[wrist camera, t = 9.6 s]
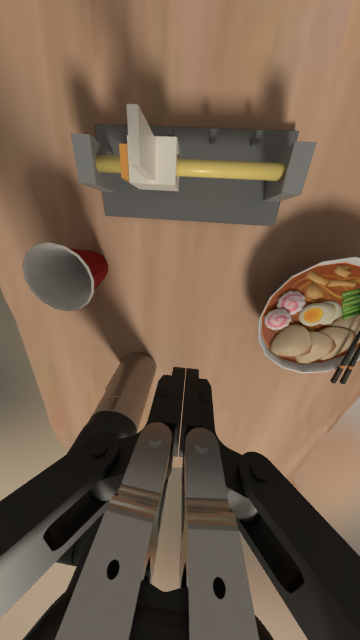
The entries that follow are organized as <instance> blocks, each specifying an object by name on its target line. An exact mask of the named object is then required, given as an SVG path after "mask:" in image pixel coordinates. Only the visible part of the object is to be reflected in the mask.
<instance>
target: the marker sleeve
mask: <svg viewBox="0 0 360 640" xmlns="http://www.w3.org/2000/svg"><path fill="white" fill-rule="evenodd" d="M127 122H128V135H127V147H128V164H129V182H130V183H131V184H132V185H134V186H135V187H137V188H139V189H143V190H162V191H179V176H176V173H177V159H180V154H181V151H180V147H179V143H178V139H177V137H165V136H154V135H153V133H152V131H151V129H150V127H149V125H148V123H147V121H146V119H145V117H144V115H143V113H142V111H141V109H140V107H139V105H138V104H127Z"/></svg>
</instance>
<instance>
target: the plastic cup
mask: <svg viewBox="0 0 360 640" xmlns="http://www.w3.org/2000/svg"><path fill="white" fill-rule="evenodd" d="M22 266H23V272H24V278H25V280H26V282H27V284H28V285H29V287H30V289H31V291H32V292H33V293H34V294H35V295H36V296H37V297H38V298H39V299H40V300H41V301H42V302H44V303H46V304H48V305H49V306H51V307H53V308H55V309H59V310H64V311H73V310H79V309H81V308H82V307H84V306H85V305H87V304H88V303H89V302H90V300H91V298H92V296H93V294H94V290H95V289H96V287H97V286H98V285H99V284H100V283H101V281H102V280H103V279H104V278H105V276H106V274H107V272H108V265H107V262H106V260H105V259H104V257H103V256H102V255H100V254H99V253H97V252H93V251H86V250H80V249H70V248H67V247H66V246H63V245H59V244H54V243H50V242H47V243H42V244H37V245H34V246H33V247H32V248H31V249H30V250H29V251H28V252H27V253H26V255H25V258H24V261H23V265H22Z"/></svg>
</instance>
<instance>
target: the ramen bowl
mask: <svg viewBox="0 0 360 640" xmlns="http://www.w3.org/2000/svg"><path fill="white" fill-rule="evenodd" d="M258 341H259V343H260V345H261V347H262V349H263V351H264V353H265V355H266V357H267V358H269V359H270V360H272V361H273V362H274V363H276V364H277V365H279V366H280V367H281V368H284V369H288V370H292V371H296V372H300V373H316V372H328V371H331V370H335V369H337V370H336V372H335V374H334V375H333V377H332V379H331V380H330V381H331V382H332V383H336V381H337V380H338V378H339V376H340V374H341V372H342V370H343V368H344V367H345V366H348V367H347V369H346V370H345V372H344V374H343V376H342V378H341V380H340V383H341V384H345V383H346V381H347V379H348V377H349V375H350V373H351V371H352V368H353V367H354V365H355V363H356V362H357V361H358V360H360V257H356V256H355V257H348V258H341V259H334V260H327V261H322V262H320V263H318V264H316V265H314V266H311V267H309V268H307V269H305V270H303V271H301V272H299V273H297V274H295V275H293V276H291V277H289V278H288V279H287V280H286V281H285V282H284V283H283V284H282V285H281V286H280V287H279V288H278V289H277V290H276V291H275V292H274V293H273V294H272V295H271V296H270V297H269V299H268V301H267V303H266V305H265V307H264V309H263V311H262V313H261V315H260V317H259V319H258Z"/></svg>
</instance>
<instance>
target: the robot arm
mask: <svg viewBox="0 0 360 640" xmlns="http://www.w3.org/2000/svg"><path fill="white" fill-rule="evenodd" d="M155 372H156V364H155V362H154V361H153V359H152V358H150V357H149V356H148V355H146V354H143V353H131V354H129V355H127V356H126V357H125V359H124V361H123V362H121V363H120V365H119V366H118V368H117V370H116V372H115V373H114V375H113V377H112V378H111V380H110V382H109V384H108V385H107V387H106V392H105V394H104V396H103V397H102V399H101V401H100V403H99V404H98V406H97V408H96V410H95V411H94V413H93V415H92V417H91V418H90V420H89V422H88V423H87V424H86V425H85V427H84V428H83V429H82V431H81V432H80V434H79V435H78V437H77V439H76V440H75V442H74V444H73V445H72V447H71V448H70V450H69V452H68V453H67V455H65V456H64V457H63V458H61V459H60V460H58V461H57V462H55V463H54V464H53V465H51V466H50V467H48V468H47V469H45V470H44V471H43V472H41V473H40V474H38V475H37V476H36V477H34V478H33V479H31V480H30V481H28V482H27V483H26V484H24V485H23V486H21V487H20V488H18V489H17V490H16V491H14V492H13V493H11V494H10V495H8V496H7V497H6V498H4V499H3V500H1V501H0V618H1V617H2V616H3V615H4V614H5V613H6V612H7V611H8V610H9V609H10V608H11V607H12V606H13V605H14V604H15V603H16V602H17V601H18V600H19V599H20V598H21V597H22V596H23V595H24V594H25V593H26V592H27V591H28V590H29V589H30V588H31V587H32V585H34V583H35V582H36V581H37V580H38V579H39V578H40V577H41V576H42V575H43V574H44V573H45V572H46V571H47V570H48V569H49V568H50V567H51V566H52V565H53V564H54V563H55V562H57V563H62V564H67V565H72V566H73V565H74V566H77V568H76V570H75V572H74V574H73V577H72V579H71V581H70V584H69V586H68V588H67V590H66V592H65V593H63V594H62V595H61V596H60V597H59V598H58V599H57V600H56V601H55V602H54V603H53V604H52V605H51V606H50V607H49V609H48V610H47V611H46V612H45V613H44V614H43V616H42V617H41V618H40V619H39V620H38V622H37V623H36V624H35V625H34V627H33V628H32V629H31V630H30V631H29V633H28V634H27V635H26V636H25V637H24V639H23V640H273V638H272V636H271V635H270V633H269V632H268V630H267V629H266V628H265V626H264V625H263V624H262V622H261V621H260V620H259V619H258V618H257V617H256V616H255V614H254V609H253V604H252V599H251V593H250V588H249V582H248V577H247V572H246V566H245V561H244V556H243V552H242V545H241V540H240V535H239V530H240V532H241V534H242V535H243V537H244V539H245V540H246V542H247V543H248V545H249V547H250V548H251V550H252V551H253V553H254V555H255V556H256V558H257V559H258V561H259V562H260V564H261V565H262V567H263V569H264V570H265V572H266V574H267V575H268V577H269V578H270V580H271V582H272V583H273V585H274V586H275V588H276V590H277V591H278V593H279V594H280V596H281V597H282V599H283V601H284V602H285V604H286V605H287V607H288V609H289V610H290V611H291V613H292V615H293V616H294V618H295V620H296V621H297V623H298V625H299V626H300V627H301V629H302V631H303V632H304V634H305V635H306V637H307V639H308V640H360V556H359V555H358V554H357V553H356V552H355V551H354V550H353V549H352V548H351V547H350V546H349V545H348V544H347V542H346V541H345V540H344V539H343V538H342V537H341V536H340V535H339V534H338V533H337V532H336V531H335V530H334V529H333V528H332V527H331V525H330V524H329V523H328V522H327V521H326V520H325V519H324V518H323V517H322V516H321V515H320V514H319V513H318V512H317V511H316V510H315V509H314V507H312V505H311V504H310V503H309V502H308V501H307V500H306V499H305V498H304V497H303V496H302V495H301V494H300V493H299V492H298V490H297V489H296V488H295V487H294V486H293V485H292V484H291V483H290V482H289V481H288V480H287V479H286V478H285V477H284V476H283V475H282V474H281V472H280V471H279V470H278V469H277V468H276V467H275V466H274V465H273V464H272V463H271V462H270V461H269V460H268V459H267V458H266V457H265V456H263V455H261V454H259V453H257V452H247V453H245V454H243V455H241V454H239V453H237V452H235V451H233V450H231V449H229V448H227V447H226V446H224V445H223V444H222V443H221V441H220V440H219V439H218V437H217V435H216V432H215V426H214V414H213V403H212V391H211V385H210V384H209V382H208V380H207V379H199V369H190V368H187V369H186V380H185V368H180V367H173V372H172V376H171V375H163V376H162V377H161V379H160V380H159V381H158V385H157V389H156V392H155V396H154V399H153V403H152V407H151V410H150V414H149V418H148V421H147V424H146V425H145V427H144V428H143V429H142V430H141V431H140V432H139V433H137V431H138V427H139V424H140V421H141V417H142V414H143V411H144V408H145V404H146V401H147V398H148V395H149V391H150V388H151V385H152V381H153V378H154V375H155ZM184 380H185V391H184ZM183 391H184V402H183ZM182 402H183V414H182V425H181V437H180V448H179V457H183V464H182V475H181V545H180V546H181V547H180V587H179V589H176V590H173V591H169V592H163V591H161V590H159V589H158V588H156V587H155V586H153V585H152V584H151V582H152V576H153V571H154V565H155V559H156V552H157V546H158V538H159V532H160V526H161V521H162V515H163V510H164V505H165V499H166V494H167V488H168V483H169V477H170V474H171V469H172V461H173V456H176V457H177V455H178V444H179V433H180V423H181V412H182Z"/></svg>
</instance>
